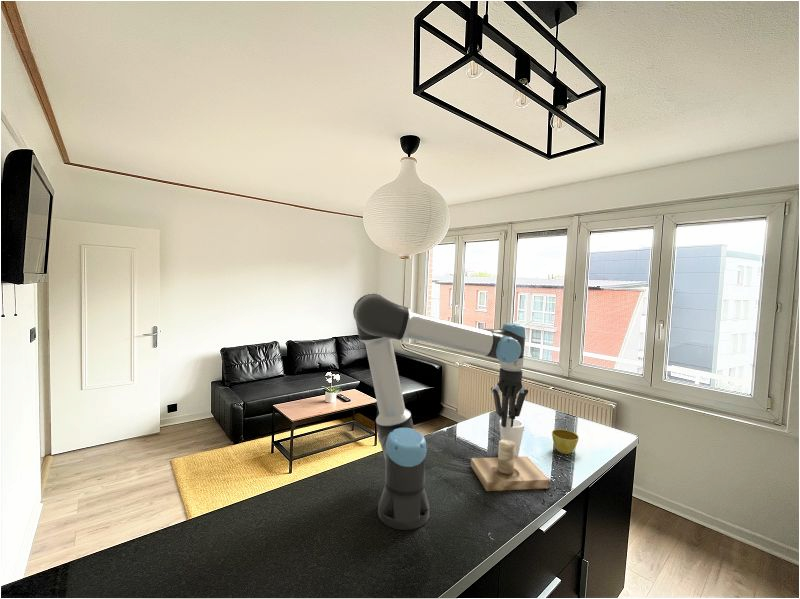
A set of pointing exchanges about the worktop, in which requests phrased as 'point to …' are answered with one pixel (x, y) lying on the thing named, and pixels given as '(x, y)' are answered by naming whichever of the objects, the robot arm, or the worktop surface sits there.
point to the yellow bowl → (564, 440)
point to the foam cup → (514, 434)
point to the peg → (506, 457)
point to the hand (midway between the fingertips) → (506, 435)
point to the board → (522, 477)
